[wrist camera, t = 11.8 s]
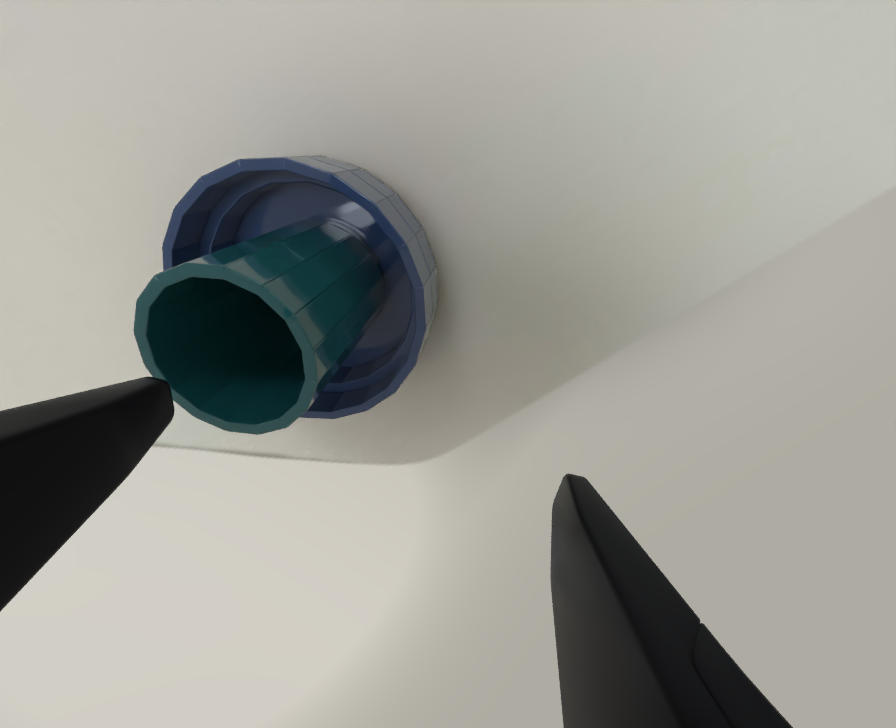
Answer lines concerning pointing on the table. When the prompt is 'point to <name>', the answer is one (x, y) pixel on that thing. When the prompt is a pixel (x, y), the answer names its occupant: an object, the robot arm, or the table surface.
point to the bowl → (342, 201)
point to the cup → (260, 323)
